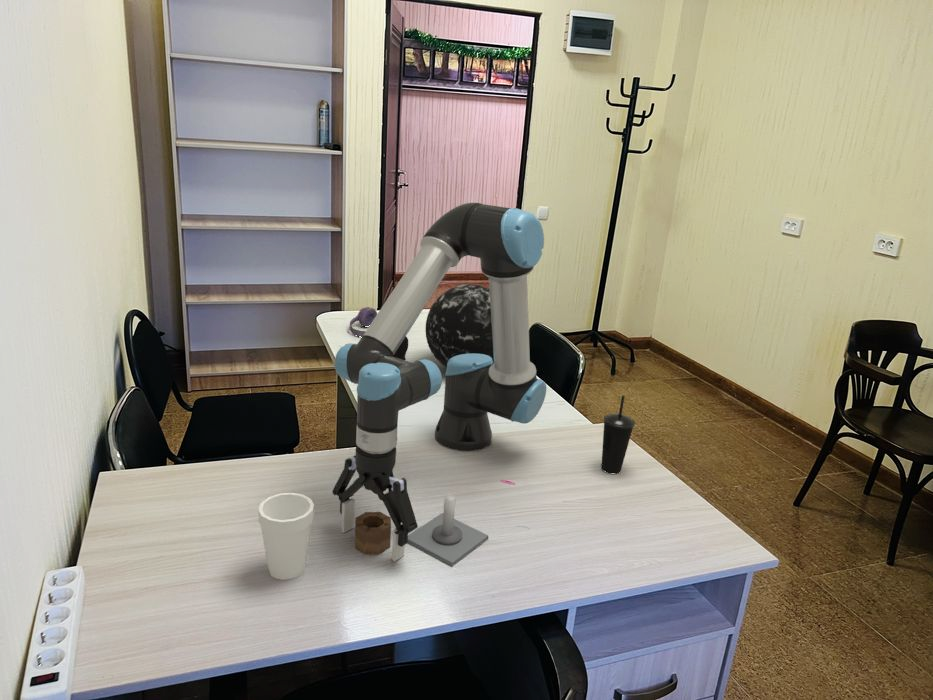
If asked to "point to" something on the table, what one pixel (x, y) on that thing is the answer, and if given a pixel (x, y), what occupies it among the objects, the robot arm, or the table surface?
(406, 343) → the figurine
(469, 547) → the grey peg stand
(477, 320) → the globe
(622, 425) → the drinking cup
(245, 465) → the table surface
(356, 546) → the brown faceted ring
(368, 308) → the headphones
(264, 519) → the foam cup
